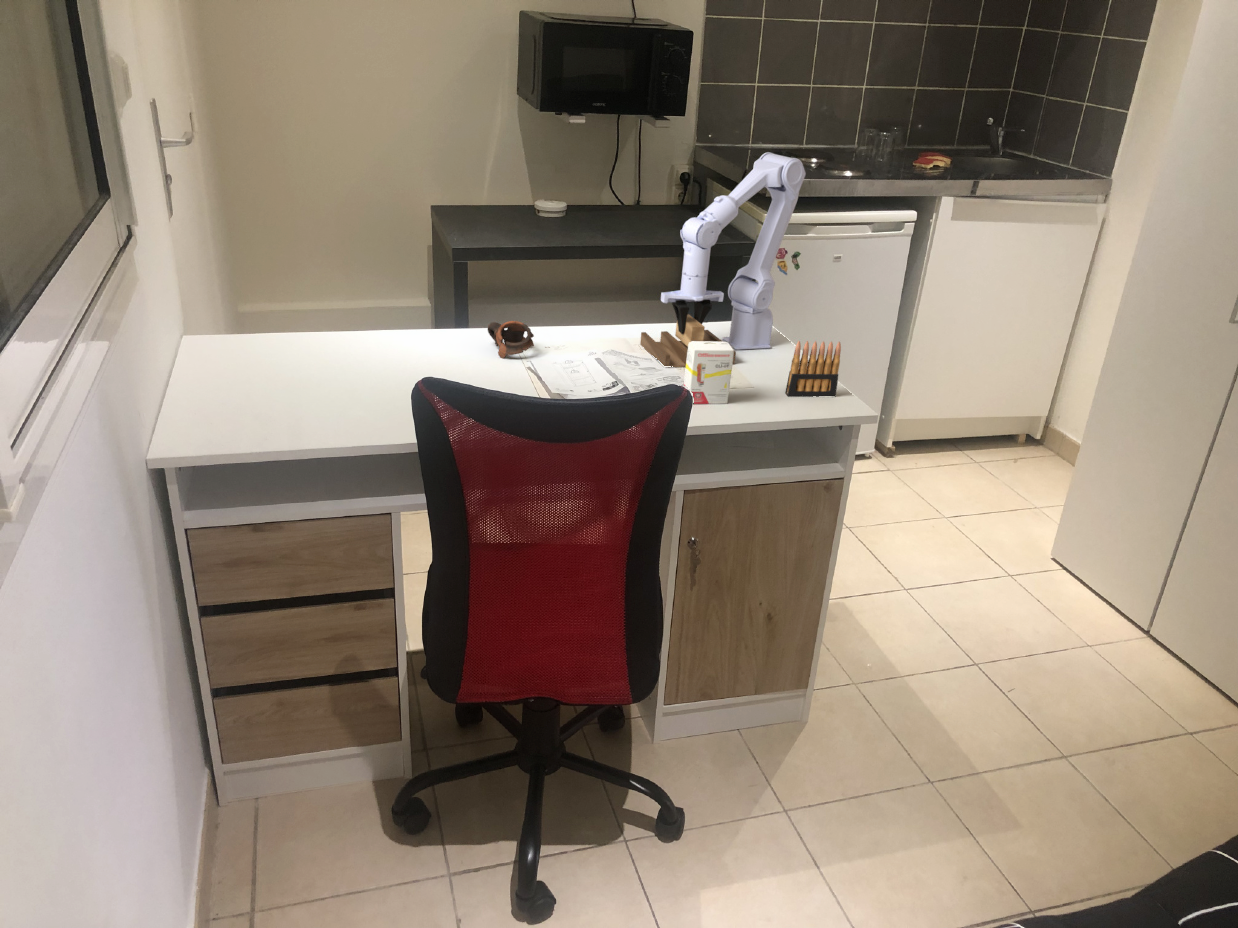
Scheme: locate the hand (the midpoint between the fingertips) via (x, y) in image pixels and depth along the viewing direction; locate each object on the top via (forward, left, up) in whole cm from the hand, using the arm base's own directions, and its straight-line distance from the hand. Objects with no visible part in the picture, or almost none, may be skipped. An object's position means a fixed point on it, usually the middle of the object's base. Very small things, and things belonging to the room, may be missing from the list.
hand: (688, 332), depth 217 cm
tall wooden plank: (0, 0, -2) cm, 2 cm away
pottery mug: (+40, -7, -6) cm, 41 cm away
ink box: (+7, +27, -6) cm, 28 cm away
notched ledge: (0, 0, -5) cm, 5 cm away
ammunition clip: (-17, +28, -6) cm, 33 cm away
